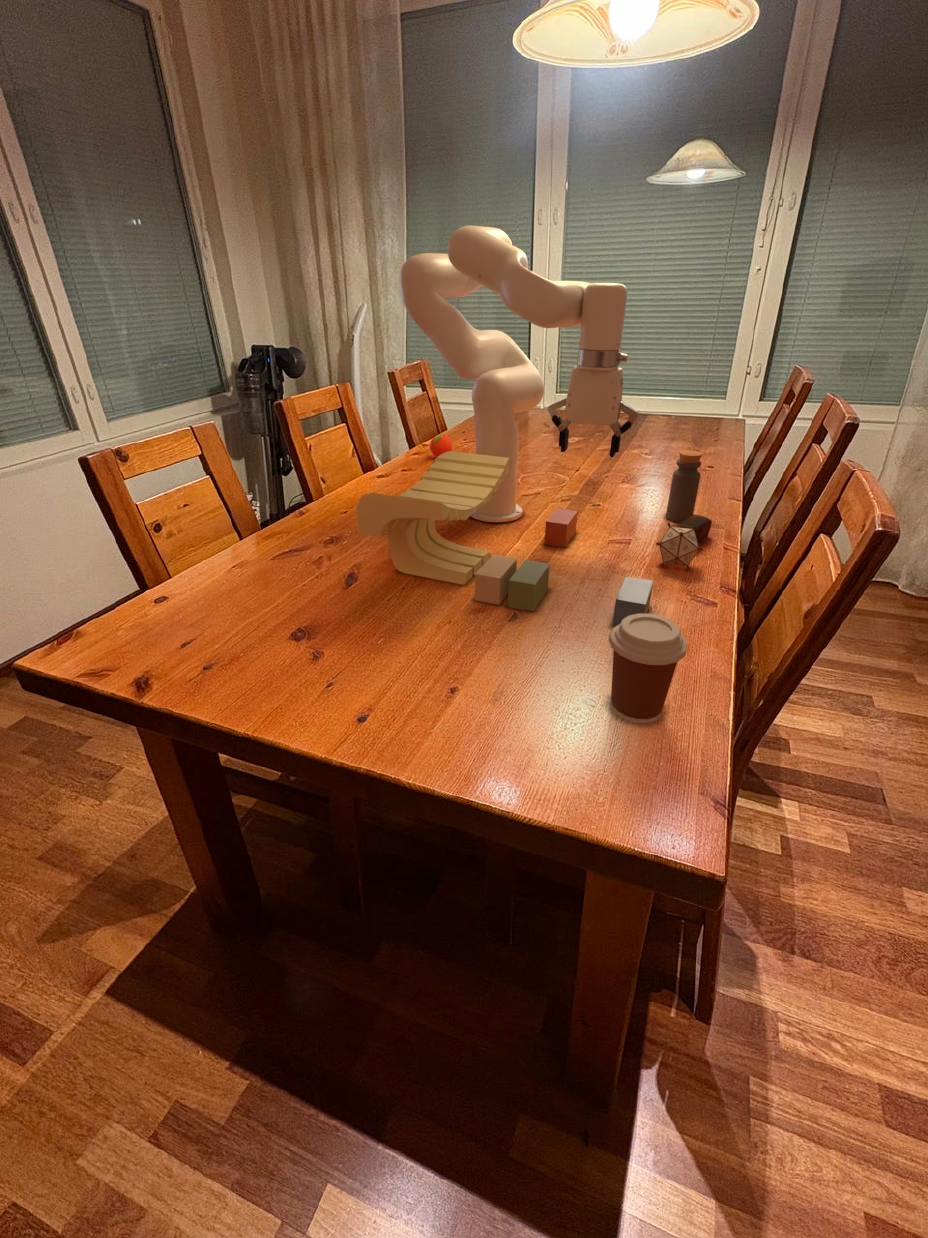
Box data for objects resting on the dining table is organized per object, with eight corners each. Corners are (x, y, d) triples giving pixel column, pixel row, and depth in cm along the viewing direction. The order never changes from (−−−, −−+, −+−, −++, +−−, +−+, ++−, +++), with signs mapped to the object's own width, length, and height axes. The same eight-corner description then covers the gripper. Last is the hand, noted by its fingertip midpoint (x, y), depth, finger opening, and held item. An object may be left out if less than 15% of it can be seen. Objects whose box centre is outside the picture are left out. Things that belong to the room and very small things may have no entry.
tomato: (444, 462, 181) (444, 438, 178) (424, 460, 184) (423, 436, 180) (456, 456, 187) (456, 433, 184) (436, 454, 190) (436, 430, 186)
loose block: (544, 544, 125) (545, 521, 123) (555, 529, 133) (557, 508, 130) (565, 547, 124) (567, 524, 121) (575, 532, 131) (577, 510, 129)
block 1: (474, 600, 103) (474, 573, 101) (492, 579, 111) (493, 554, 108) (499, 605, 102) (500, 578, 99) (515, 583, 109) (517, 558, 107)
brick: (690, 551, 122) (695, 529, 120) (671, 546, 124) (676, 525, 122) (709, 536, 129) (713, 515, 127) (691, 532, 131) (695, 511, 129)
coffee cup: (688, 714, 76) (707, 633, 70) (637, 739, 72) (652, 655, 66) (635, 679, 83) (648, 602, 77) (585, 700, 79) (595, 620, 73)
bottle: (693, 515, 141) (706, 451, 133) (690, 524, 136) (703, 457, 129) (667, 512, 143) (678, 448, 135) (663, 520, 138) (675, 454, 131)
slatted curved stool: (437, 531, 131) (435, 449, 123) (506, 543, 126) (509, 457, 117) (363, 587, 107) (354, 490, 99) (443, 604, 102) (442, 503, 93)
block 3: (611, 627, 95) (615, 599, 93) (621, 602, 103) (625, 576, 100) (640, 632, 94) (645, 604, 92) (648, 607, 101) (653, 580, 99)
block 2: (507, 606, 101) (508, 579, 99) (523, 585, 109) (525, 559, 106) (533, 611, 100) (535, 584, 97) (548, 589, 107) (550, 563, 105)
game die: (678, 580, 119) (714, 540, 116) (679, 583, 111) (718, 540, 108) (642, 551, 120) (677, 511, 117) (641, 552, 112) (678, 509, 109)
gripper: (648, 359, 111) (635, 453, 119) (557, 355, 116) (550, 444, 125) (643, 364, 105) (629, 462, 113) (547, 359, 110) (540, 453, 119)
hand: (587, 453), depth 119 cm, fingers open, 9 cm apart
